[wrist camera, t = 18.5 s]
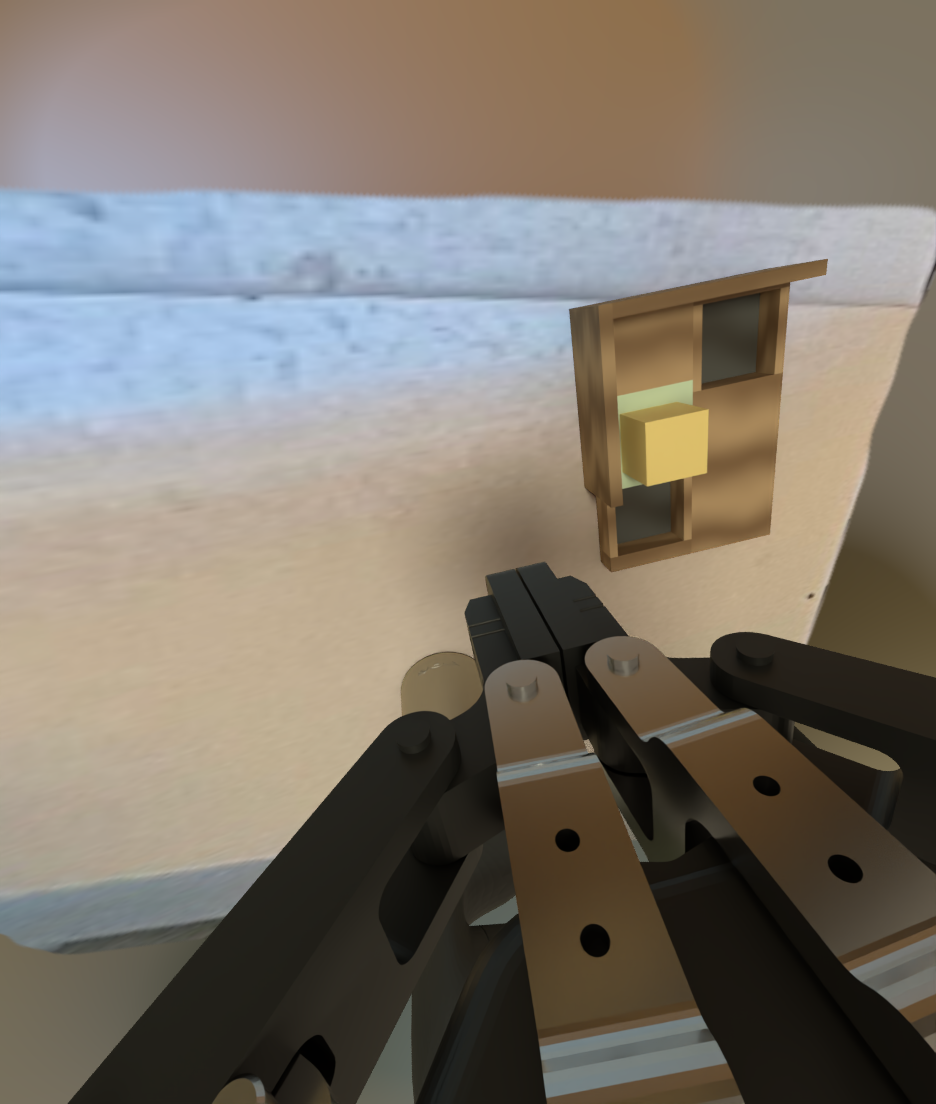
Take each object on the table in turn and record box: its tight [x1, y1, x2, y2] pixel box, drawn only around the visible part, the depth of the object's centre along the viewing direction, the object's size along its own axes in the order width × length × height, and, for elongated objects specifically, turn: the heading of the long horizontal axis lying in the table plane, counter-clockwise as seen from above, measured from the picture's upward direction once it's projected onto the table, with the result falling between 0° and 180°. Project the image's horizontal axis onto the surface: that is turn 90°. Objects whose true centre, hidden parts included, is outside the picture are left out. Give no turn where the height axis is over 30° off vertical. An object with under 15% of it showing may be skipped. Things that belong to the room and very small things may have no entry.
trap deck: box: [569, 259, 828, 572], centre depth 43 cm, size 23×17×6 cm
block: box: [620, 402, 709, 486], centre depth 41 cm, size 5×5×4 cm
